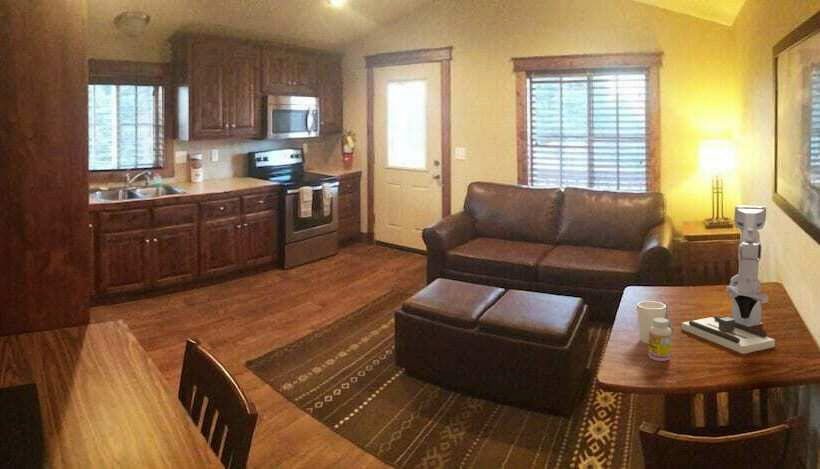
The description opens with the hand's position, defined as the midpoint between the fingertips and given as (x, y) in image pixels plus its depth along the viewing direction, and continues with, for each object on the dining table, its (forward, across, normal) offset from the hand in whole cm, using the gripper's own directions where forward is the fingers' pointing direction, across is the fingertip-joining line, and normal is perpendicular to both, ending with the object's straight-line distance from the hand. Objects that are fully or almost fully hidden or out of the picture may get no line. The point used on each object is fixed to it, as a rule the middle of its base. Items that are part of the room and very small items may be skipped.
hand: (745, 317), depth 200 cm
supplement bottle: (+10, -3, -33) cm, 34 cm away
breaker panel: (+9, -7, 0) cm, 12 cm away
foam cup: (+10, -16, -25) cm, 31 cm away
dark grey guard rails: (+7, -7, 0) cm, 10 cm away
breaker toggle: (+7, -7, 0) cm, 10 cm away
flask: (+10, -23, -13) cm, 28 cm away
